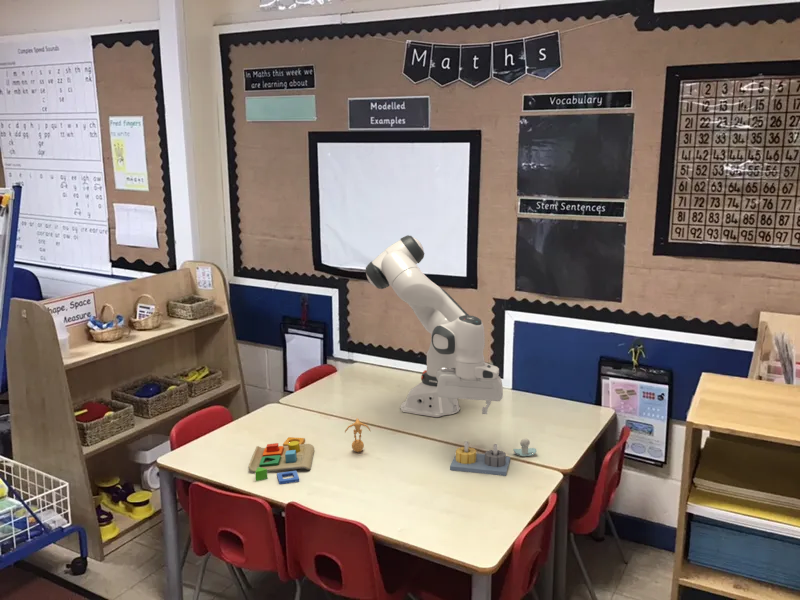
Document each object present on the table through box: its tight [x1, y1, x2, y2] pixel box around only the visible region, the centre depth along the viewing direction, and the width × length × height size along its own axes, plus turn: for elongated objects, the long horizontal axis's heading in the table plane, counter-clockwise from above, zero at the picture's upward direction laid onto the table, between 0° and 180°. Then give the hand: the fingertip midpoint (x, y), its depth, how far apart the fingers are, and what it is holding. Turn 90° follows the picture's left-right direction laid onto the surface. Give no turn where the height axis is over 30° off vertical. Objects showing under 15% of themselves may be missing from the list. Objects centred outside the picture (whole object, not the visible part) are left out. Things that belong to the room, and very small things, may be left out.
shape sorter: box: [247, 436, 315, 485], centre depth 223 cm, size 34×19×5 cm, turn 2°
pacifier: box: [513, 437, 537, 457], centre depth 227 cm, size 7×6×6 cm
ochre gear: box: [455, 446, 478, 464], centre depth 220 cm, size 6×6×3 cm
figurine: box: [344, 418, 371, 453], centre depth 228 cm, size 8×6×12 cm
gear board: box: [449, 440, 511, 477], centre depth 219 cm, size 17×12×7 cm
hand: (469, 412), depth 218 cm, fingers open, 8 cm apart
